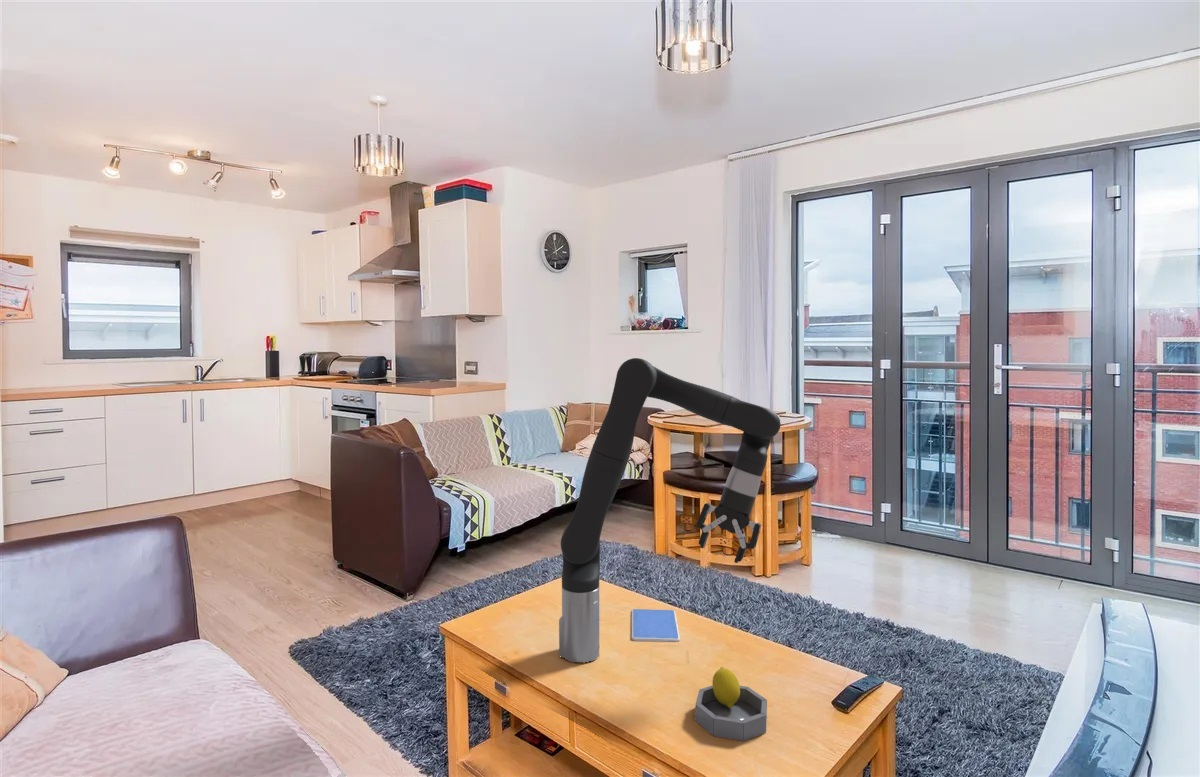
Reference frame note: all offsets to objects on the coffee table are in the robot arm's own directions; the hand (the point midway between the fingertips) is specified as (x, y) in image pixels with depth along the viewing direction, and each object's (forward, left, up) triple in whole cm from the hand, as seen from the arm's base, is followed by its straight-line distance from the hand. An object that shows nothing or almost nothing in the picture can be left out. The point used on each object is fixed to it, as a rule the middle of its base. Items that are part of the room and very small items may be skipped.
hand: (719, 554), depth 147 cm
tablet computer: (-19, +18, -28) cm, 38 cm away
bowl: (+5, -21, -27) cm, 34 cm away
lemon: (+5, -20, -25) cm, 33 cm away
